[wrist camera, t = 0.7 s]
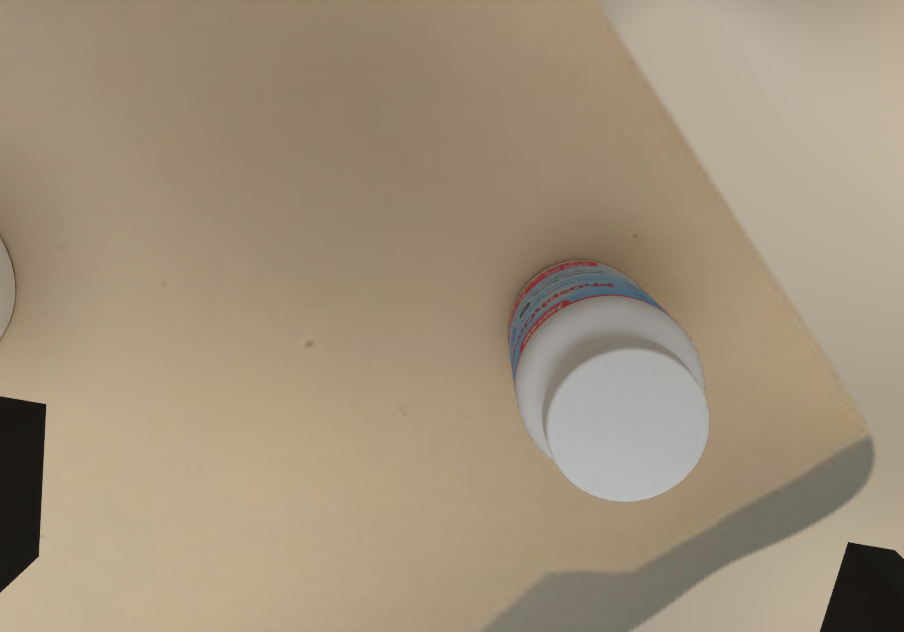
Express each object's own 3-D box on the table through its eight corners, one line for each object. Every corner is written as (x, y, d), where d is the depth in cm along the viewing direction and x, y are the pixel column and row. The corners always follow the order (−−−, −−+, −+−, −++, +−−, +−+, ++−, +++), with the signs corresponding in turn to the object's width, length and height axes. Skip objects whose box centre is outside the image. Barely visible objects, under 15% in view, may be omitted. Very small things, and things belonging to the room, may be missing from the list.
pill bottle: (569, 228, 31) (617, 276, 20) (681, 318, 32) (785, 411, 21) (477, 339, 33) (475, 440, 22) (586, 424, 33) (639, 564, 22)
